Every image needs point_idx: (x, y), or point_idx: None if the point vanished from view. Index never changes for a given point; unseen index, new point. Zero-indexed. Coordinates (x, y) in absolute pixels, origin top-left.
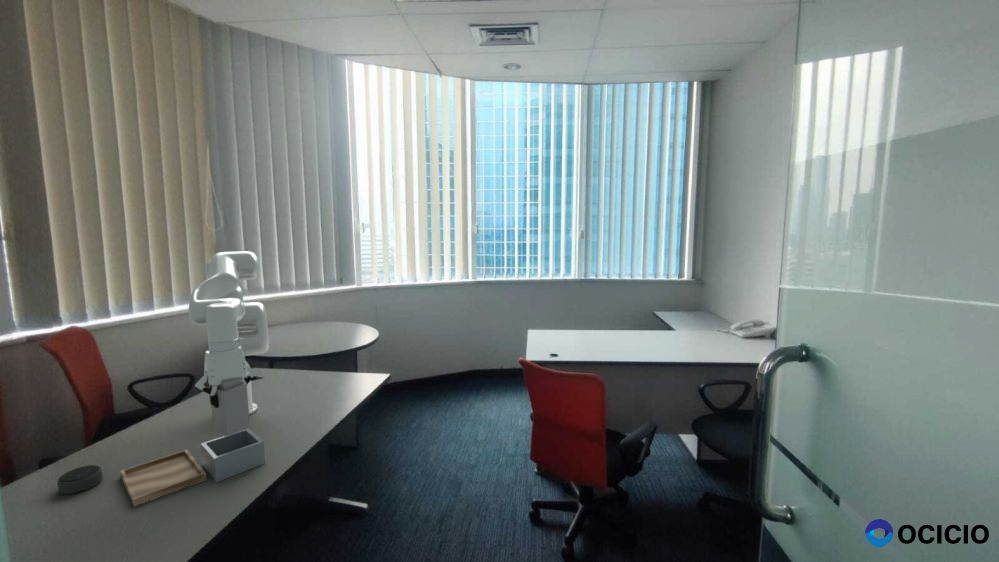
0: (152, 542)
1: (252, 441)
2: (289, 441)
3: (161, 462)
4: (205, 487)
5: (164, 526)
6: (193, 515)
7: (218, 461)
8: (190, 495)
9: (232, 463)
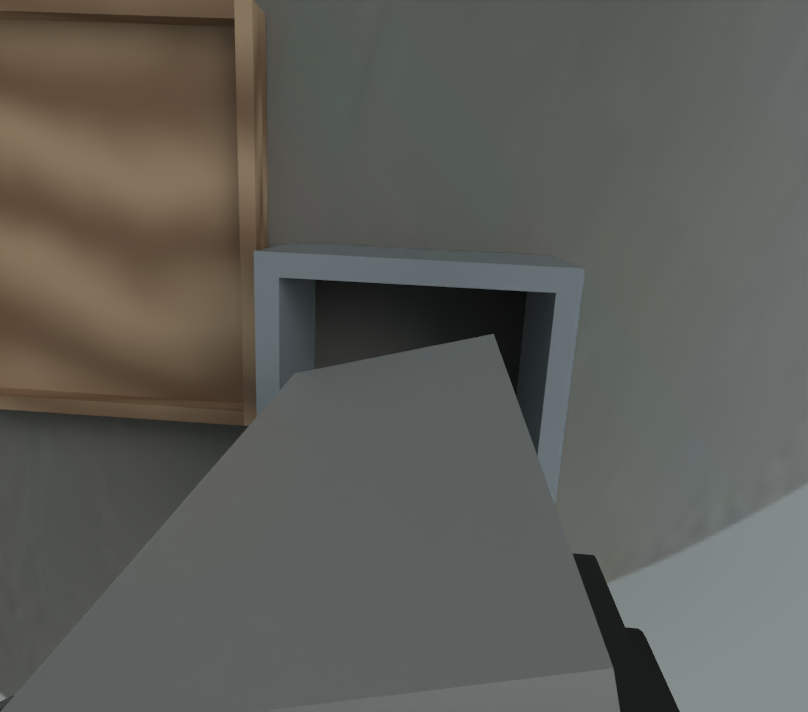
0: None
1: (534, 406)
2: (746, 360)
3: (119, 25)
4: None
5: (77, 620)
6: None
7: None
8: (186, 490)
9: None
